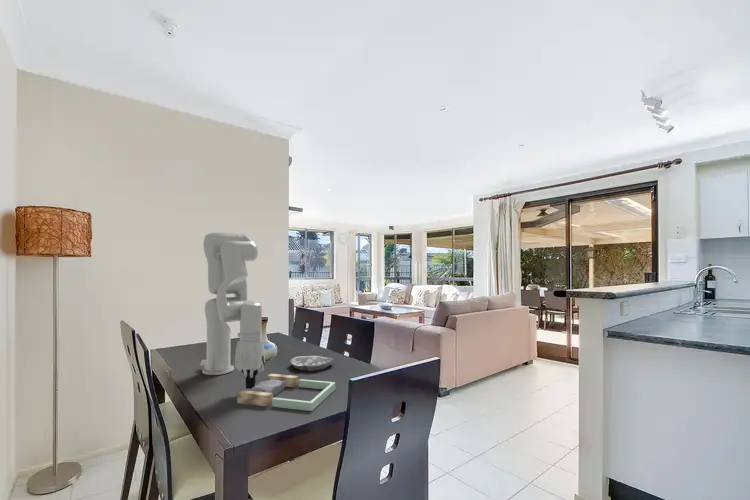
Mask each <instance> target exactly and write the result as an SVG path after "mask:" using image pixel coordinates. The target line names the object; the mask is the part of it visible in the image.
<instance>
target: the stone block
mask: <svg viewBox="0 0 750 500" xmlns="http://www.w3.org/2000/svg"><path fill="white" fill-rule="evenodd" d="M284 390H285V382H284V381H279V380H267V379H266V380H263V381H261V382H259V383H257V384H255V386H254V387H253V388H251V389H249V388H248V390H247V391H257V392H266V393H273V398H275V397H276V396H277V395H279V394H280V393H281V392H283V391H284Z"/></svg>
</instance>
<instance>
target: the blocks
mask: <svg viewBox="0 0 750 500" xmlns="http://www.w3.org/2000/svg"><path fill="white" fill-rule="evenodd" d="M266 380H279V381H284V382H285V387H287V388H297V387H299V380H300V379H299V375H291V374H290V375H288V374H280V373H279V374H278V373H270V374H267V377H266ZM236 397H237V398H236V402H237V404H242V405H251V406H260V407H261V406H262V407H271V406H272V399H273V398H274V397H273V393H266V392H257V391H248V390H245V389H240V390H239V391H237V392H236Z"/></svg>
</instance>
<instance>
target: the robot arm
mask: <svg viewBox="0 0 750 500" xmlns="http://www.w3.org/2000/svg"><path fill="white" fill-rule="evenodd" d="M203 252H204V255H205V258H206V261H207V282H208V283H207V284H208V292H209V293H210V294H211V295H216V297H214V298H211V299H208V300H207V301H206V302H205V304H204V314H205V321H206V359H202V360H201V362H200V363H199V366H202V367H203V369H202V374H203V375H206V376H219V375H225V374H228V373H231V372H233V371H234V370H235V368H236V370H237V371H239V372H241V373H242V374H243V376H244V378H245V389H248V390H249V389H251V388H254V387H255V386H256V376H257V375H258V374H260V373H263V372H265V365H266V351H265V345H264V343H265V342H264V340H263V339H262V337H263V336H262V335H263V334H262V331H263V330H262V326H263V324H262V322H263V318H262V316H263V313H262V311H263V307H262V304H261V303H260V302H256V301H254V300H252V299H251V300H248V283H247V282H248V281H247V278H248V276H249V275H248V269H247V265H246V262H254V261H256V259H258V255H259V253H258V247H257V245H256V243H255V242H254V241H253V240H252V239H251V238H250V237H249V236H248V235H246V234H243V233H236V232H235V233H234V232H233V233H232V232H210V233H207V234H206V235H205V237H203ZM232 294H233V295H234V296H228V297H227V295H232ZM232 322H239V332H238V333H237V337H239V340H237V343H236V349H235V355H234V365H232V364H231V350H232V349H231V348H232V347H231V341H232V340H231V338H232V337H231V335H232V334H231V333H232V332H231V327H230V326H229V324H228V323H232Z"/></svg>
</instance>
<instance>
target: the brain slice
mask: <svg viewBox="0 0 750 500" xmlns="http://www.w3.org/2000/svg"><path fill="white" fill-rule="evenodd" d="M334 360H335V359H334V358H333V357H325V356H320V355H307V356H306V355H305V356H304V355H301V356H300V355H299V356H295V357H293V358H291V359H290V360H289V362H290V365H292V366H293V368H295V369H297V370H299V371H305V372H306V371H307V372H314V371H321V370H324V369H326V368H328V367H330V366H331V364H332V363H333V362H334Z"/></svg>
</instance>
